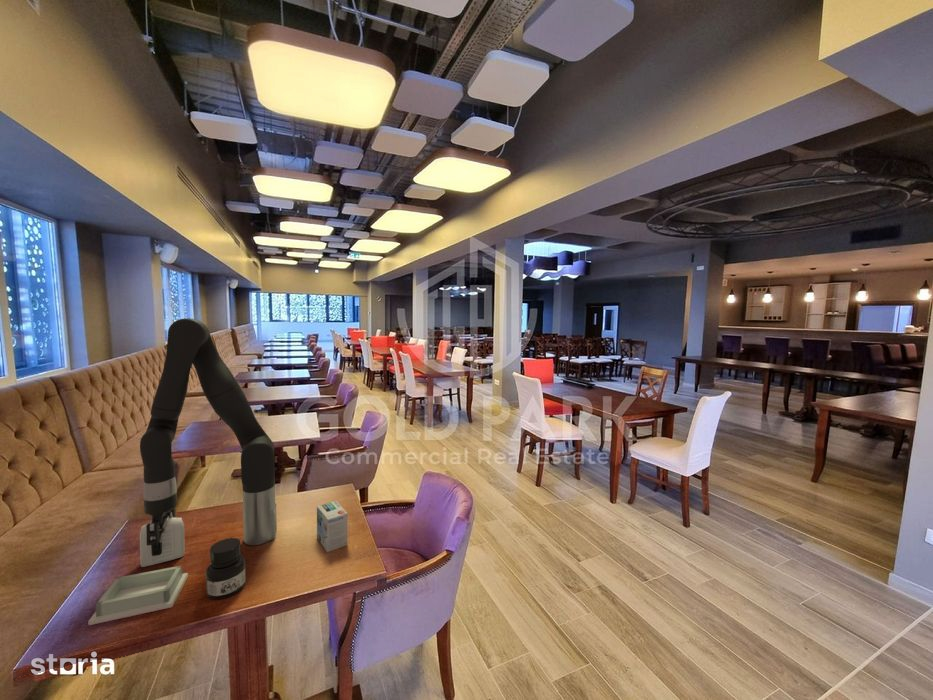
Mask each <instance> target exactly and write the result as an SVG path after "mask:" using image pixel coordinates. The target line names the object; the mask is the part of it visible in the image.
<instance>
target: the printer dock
mask: <svg viewBox="0 0 933 700" xmlns="http://www.w3.org/2000/svg"><path fill="white" fill-rule="evenodd" d="M188 577H189V573H188V572H185V573H183V565H179V566H173V567H166V568H161V569H156V570H151V571H146V572H145V571H144V572H140V573H135V574H129V575H123V576H118V577H115V579H114V580H113V582H112V583H111V584H110V586H109V587H108V588H107V590H105V592H104V593H103V595H102V596H101V597H100V599H98V601H97V603H96V604H95V605H94V606H95V611H94V613H93V614H92V616H91V617H90V618H89V620H88V622H87V624H88V626H92V625H96V624H102V623H105V622H111V621H114V620H118V619H119V620H120V619H124V618H130V617H133V616H137V615H138V616H139V615H143V614H146V613H151V612H156V611H159V610H160V611H161V610H165V609H170V608H173V607H174V606H175V605H174V604H175V603H176V600H177V599H178V597H179V595H180V592H181V591H182V589H183V587H184V585H185V583H186V580H187V579H188Z"/></svg>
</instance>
